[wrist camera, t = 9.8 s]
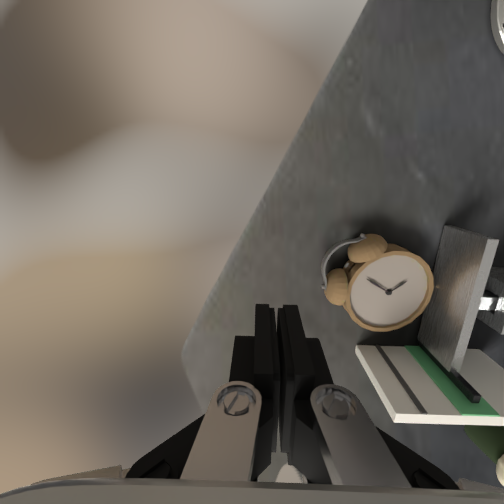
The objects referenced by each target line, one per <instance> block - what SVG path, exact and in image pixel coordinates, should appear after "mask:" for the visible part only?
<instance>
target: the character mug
mask: <svg viewBox="0 0 504 504" xmlns="http://www.w3.org/2000/svg"><path fill="white" fill-rule="evenodd" d="M464 431H465V432H466V434H467V436H468V437H469V438H470V439H471V440H472V441H473V442H474V443H475V444H476V445H477V446H478V447H479V448H480V449H481V450H482V451H483V452H484V453H485V454H486V455H487V456H488V457H489V458H490V459H491V460H492V461H493V462H494V463H495V464H497V466H496V474H497V477H498V479H499V481H500V483H501V484H502V485H503V486H504V426H491V425H465V429H464Z"/></svg>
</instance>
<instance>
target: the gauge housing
mask: <svg viewBox="0 0 504 504" xmlns="http://www.w3.org/2000/svg"><path fill="white" fill-rule="evenodd" d="M484 292H493V293H495V294H496V295H498V296H500V297H499V300H498V303H497V306H496V309H495V310H478V313H477V316H476V318H478V319H479V320H481V321H482V322H484V323H485V324H487V325H488V326H490V327H491V328H492V329H494V330H495V331H497V332H498V333H500V334H504V268H498V267H491V269H490V273H489V276H488V279H487V283H486V286H485V289H484Z"/></svg>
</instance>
